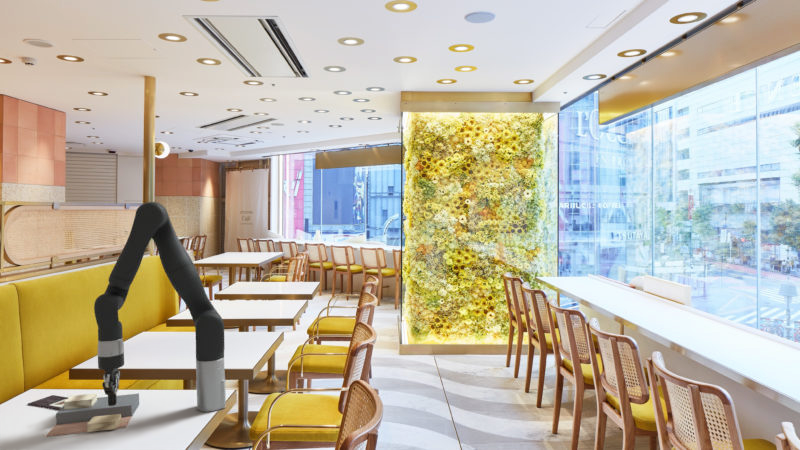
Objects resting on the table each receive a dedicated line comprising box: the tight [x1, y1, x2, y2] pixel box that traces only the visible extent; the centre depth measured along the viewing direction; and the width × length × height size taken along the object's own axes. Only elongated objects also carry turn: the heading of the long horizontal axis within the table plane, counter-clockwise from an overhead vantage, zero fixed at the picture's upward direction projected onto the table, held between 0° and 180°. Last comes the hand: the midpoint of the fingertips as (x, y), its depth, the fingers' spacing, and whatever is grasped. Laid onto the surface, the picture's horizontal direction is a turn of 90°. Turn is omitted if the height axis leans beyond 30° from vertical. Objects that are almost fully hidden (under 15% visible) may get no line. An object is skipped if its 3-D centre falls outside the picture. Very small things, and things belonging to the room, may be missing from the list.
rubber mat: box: [45, 416, 132, 438], centre depth 164 cm, size 22×8×1 cm, turn 106°
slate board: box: [55, 393, 140, 425], centre depth 174 cm, size 22×12×4 cm, turn 106°
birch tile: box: [64, 392, 98, 410], centre depth 173 cm, size 8×6×2 cm
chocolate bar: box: [27, 394, 69, 411], centre depth 186 cm, size 9×1×18 cm
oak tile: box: [86, 414, 121, 433], centre depth 163 cm, size 8×6×2 cm
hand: (112, 404), depth 170 cm, fingers closed
